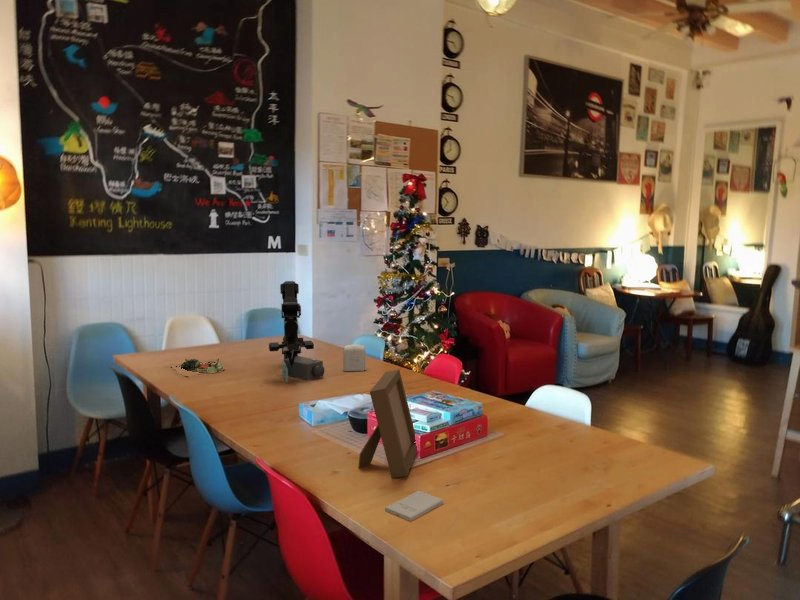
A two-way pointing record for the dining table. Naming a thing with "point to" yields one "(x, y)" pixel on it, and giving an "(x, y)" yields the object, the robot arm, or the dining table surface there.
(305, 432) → the dining table surface
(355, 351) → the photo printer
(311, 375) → the large grey box
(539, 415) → the dining table surface
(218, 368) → the plated dish
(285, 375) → the grey-green bar
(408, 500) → the external hard drive
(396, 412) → the photo frame
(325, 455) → the dining table surface
